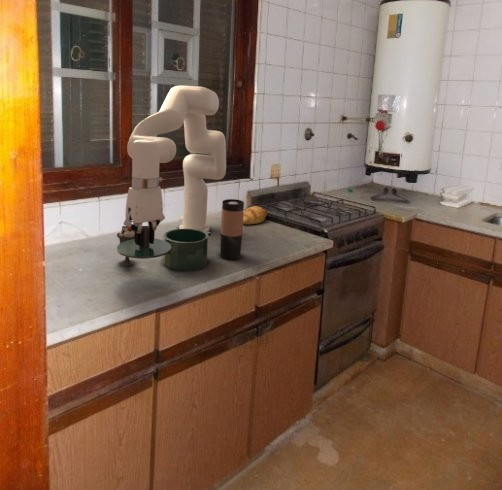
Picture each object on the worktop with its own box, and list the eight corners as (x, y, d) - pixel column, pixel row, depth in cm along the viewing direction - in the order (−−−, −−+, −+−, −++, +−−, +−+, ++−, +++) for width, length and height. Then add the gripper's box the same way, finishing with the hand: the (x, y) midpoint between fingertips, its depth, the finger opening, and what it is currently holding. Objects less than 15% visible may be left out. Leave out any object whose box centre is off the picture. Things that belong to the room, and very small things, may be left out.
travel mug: (244, 254, 158) (247, 200, 154) (236, 261, 151) (239, 205, 147) (224, 250, 161) (227, 198, 157) (216, 257, 153) (218, 202, 150)
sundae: (134, 268, 140) (135, 223, 138) (113, 267, 140) (114, 222, 138) (140, 260, 147) (140, 217, 144) (120, 259, 147) (120, 216, 144)
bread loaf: (247, 234, 191) (255, 221, 187) (230, 220, 194) (238, 206, 191) (269, 222, 209) (277, 210, 205) (253, 209, 212) (261, 197, 209)
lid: (107, 248, 129) (107, 225, 128) (152, 238, 140) (153, 216, 139) (134, 265, 118) (134, 239, 117) (181, 252, 129) (182, 229, 128)
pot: (147, 262, 146) (148, 234, 144) (195, 249, 160) (196, 224, 158) (173, 276, 136) (174, 247, 134) (221, 262, 150) (223, 235, 148)
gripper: (162, 177, 134) (160, 235, 137) (112, 183, 122) (112, 245, 126) (176, 182, 129) (174, 242, 132) (126, 188, 117) (125, 253, 121)
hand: (144, 243), depth 129 cm, fingers closed on lid, 3 cm apart
